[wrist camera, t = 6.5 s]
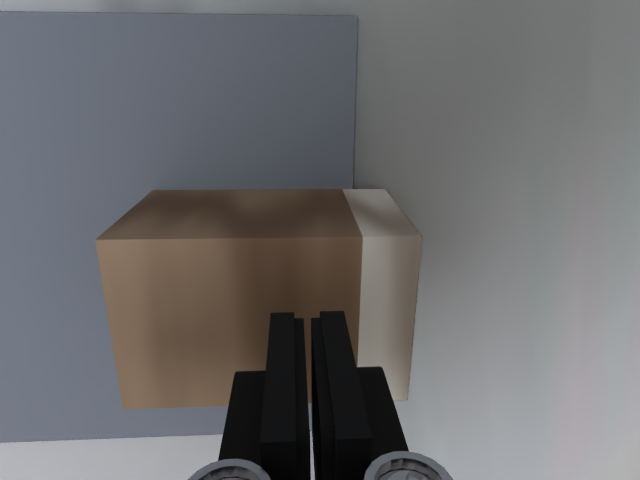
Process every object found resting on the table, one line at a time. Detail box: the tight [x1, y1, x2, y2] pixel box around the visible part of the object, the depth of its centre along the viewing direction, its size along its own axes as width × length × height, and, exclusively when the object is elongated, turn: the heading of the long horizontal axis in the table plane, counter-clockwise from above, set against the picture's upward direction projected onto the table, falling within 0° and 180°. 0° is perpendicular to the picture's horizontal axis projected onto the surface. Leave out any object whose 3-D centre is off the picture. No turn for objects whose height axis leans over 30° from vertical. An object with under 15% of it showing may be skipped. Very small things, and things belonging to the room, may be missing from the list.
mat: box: [0, 11, 358, 443], centre depth 17 cm, size 16×16×1 cm
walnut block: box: [95, 189, 422, 409], centre depth 15 cm, size 5×5×8 cm
